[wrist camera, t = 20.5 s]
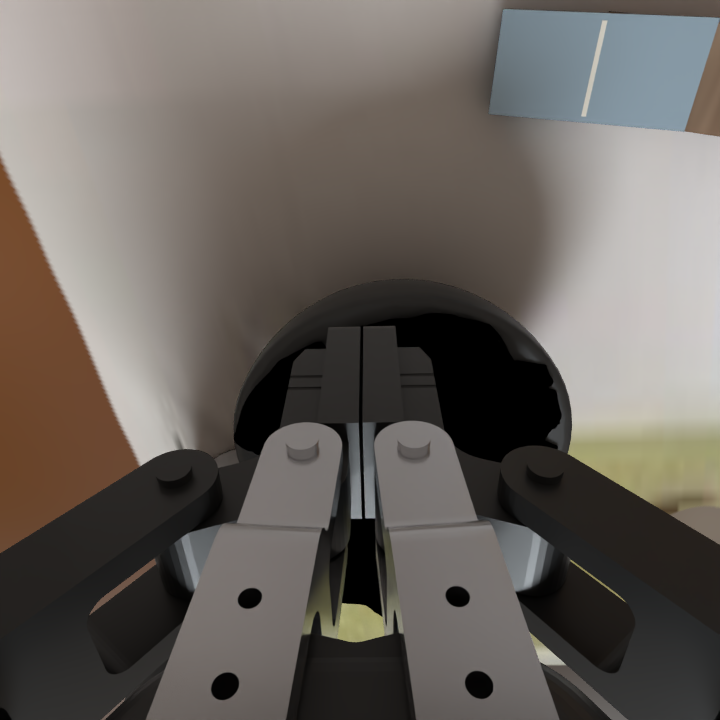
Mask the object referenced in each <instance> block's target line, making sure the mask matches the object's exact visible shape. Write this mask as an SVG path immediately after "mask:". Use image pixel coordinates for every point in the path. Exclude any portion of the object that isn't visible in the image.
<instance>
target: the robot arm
mask: <svg viewBox="0 0 720 720" xmlns="http://www.w3.org/2000/svg"><path fill="white" fill-rule="evenodd" d="M362 433H363V456H364V491H365V518H375V533H376V560H377V569H378V578H379V587H380V596H381V605H382V614H383V623H384V632H385V636H382V637H379V638H375V639H371V640H367V641H363V642H347V641H343V640H339V639H337V637H338V629H339V621H340V613H341V605H342V597H343V589H344V581H345V573H346V565H347V557H348V541H349V539H350V529H351V519H362ZM154 558H155V561H156V565H155V566H153V567H152V568H151V569H149V570H148V571H147V572H145V573H144V574H143V575H142V576H140V577H139V578H138V579H136V580H135V581H134V582H132V583H131V584H130V585H129V586H128V587H126V588H125V589H123V590H122V591H121V592H120V593H118V594H117V595H115V596H114V597H113V598H112V599H111V600H109V601H108V602H106V603H105V604H104V605H102V606H101V607H100V608H99V609H97V610H96V611H95V612H93V613H92V614H91V615H89V614H90V612H91V610H92V609H93V607H94V606H95V605H96V603H97V602H98V601H99V600H100V599H101V598H102V597H104V596H105V595H106V594H107V593H109V592H110V591H111V590H113V589H114V588H115V587H117V586H118V585H119V584H121V583H122V582H123V581H125V580H126V579H127V578H129V577H130V576H131V575H133V574H134V573H135V572H136V571H138V570H139V569H140V568H142V567H143V566H145V565H146V564H147V563H148V562H150V561H151V560H152V559H154ZM570 560H573V561H574V562H575V563H577V564H578V565H579V566H581V567H582V568H583V569H585V570H586V571H587V572H589V573H590V574H591V575H593V576H594V577H596V578H597V579H598V580H600V581H601V582H602V583H604V584H605V585H606V586H608V587H609V588H610V589H612V590H613V591H614V592H616V593H617V594H618V595H619V596H621V597H622V598H623V599H624V600H625V602H624V601H623V600H622V599H620V598H619V597H618V596H616V595H615V594H613V593H612V592H611V591H609V590H608V589H607V588H605V587H604V586H603V585H601V584H600V583H599V582H597V581H596V580H595V579H593V578H592V577H591V576H589V575H588V574H587V573H585V572H584V571H583V570H581V569H580V568H579V567H577V566H576V565H575V564H573V563H572V562H570ZM529 632H530V633H531V634H533V635H534V636H535V637H536V638H537V639H538V640H539V641H540V642H542V643H543V644H544V645H545V646H546V647H547V648H548V649H549V650H551V651H552V652H553V653H554V654H555V655H556V656H557V657H558V658H559V659H561V660H562V661H563V662H564V663H565V664H566V665H567V666H568V667H570V668H571V669H572V670H573V671H574V672H575V673H576V674H578V675H579V676H580V677H581V678H582V679H583V680H584V681H586V683H587V684H589V685H590V686H591V687H592V688H593V689H594V690H595V691H596V692H598V693H599V694H600V695H601V696H602V697H603V698H604V699H605V700H607V701H608V702H609V703H610V704H611V705H612V706H613V707H614V708H616V709H617V710H618V711H619V712H620V713H621V714H622V715H623V716H624V717H626V718H627V719H628V720H720V545H719V544H717V543H716V542H714V541H712V540H711V539H709V538H707V537H706V536H704V535H702V534H701V533H699V532H697V531H696V530H694V529H692V528H691V527H689V526H687V525H686V524H684V523H682V522H680V521H679V520H677V519H676V518H674V517H672V516H671V515H669V514H667V513H666V512H664V511H662V510H661V509H659V508H657V507H656V506H654V505H652V504H650V503H649V502H647V501H645V500H644V499H642V498H640V497H639V496H637V495H635V494H634V493H632V492H630V491H629V490H627V489H625V488H624V487H622V486H620V485H619V484H617V483H615V482H614V481H612V480H610V479H609V478H607V477H605V476H604V475H602V474H600V473H599V472H597V471H595V470H594V469H592V468H590V467H589V466H587V465H585V464H584V463H582V462H580V461H579V460H577V459H575V458H574V457H572V456H570V455H568V454H566V453H564V452H562V451H560V450H557V449H554V448H550V447H545V446H524V447H520V448H517V449H514V450H512V451H511V452H509V453H508V454H507V455H506V456H505V457H504V458H503V460H502V462H501V463H499V462H494V461H489V460H485V459H481V458H477V457H474V456H471V455H469V454H466V453H465V452H463V451H461V450H459V449H458V448H456V447H455V446H454V444H453V442H452V439H451V438H450V436H449V435H448V434H447V433H446V432H445V431H444V426H443V421H442V416H441V410H440V405H439V400H438V394H437V389H436V384H435V378H434V373H433V367H432V362H431V359H430V358H429V357H428V356H427V355H426V354H425V352H424V351H423V350H422V349H421V348H420V347H397V338H396V328H395V326H363V394H362V356H361V327H329V328H328V334H327V343H326V349H305V350H304V351H303V352H302V353H301V354H300V355H299V356H298V357H297V358H296V359H295V361H294V362H293V366H292V371H291V378H290V381H289V386H288V391H287V395H286V400H285V405H284V410H283V415H282V420H281V425H280V429H279V430H277V431H276V432H274V433H273V434H272V435H271V436H270V437H269V438H268V439H267V440H266V442H265V444H264V447H263V449H262V452H261V454H260V455H258V456H256V457H255V458H252V459H250V460H247V461H244V462H240V463H239V461H238V458H237V454H236V450H232V451H229V452H226V453H224V454H221V455H220V456H218V457H217V458H215V459H214V458H213V457H211V456H210V455H209V454H207V453H205V452H202V451H199V450H192V449H183V450H176V451H171V452H167V453H164V454H162V455H159V456H157V457H155V458H153V459H152V460H150V461H148V462H147V463H145V464H143V465H142V466H140V467H139V468H137V469H135V470H134V471H132V472H131V473H129V474H128V475H126V476H124V477H123V478H121V479H119V480H118V481H116V482H114V483H113V484H111V485H110V486H108V487H107V488H105V489H103V490H102V491H100V492H98V493H97V494H95V495H94V496H92V497H90V498H89V499H87V500H86V501H84V502H82V503H81V504H79V505H77V506H76V507H74V508H73V509H71V510H69V511H68V512H66V513H65V514H63V515H61V516H60V517H58V518H57V519H55V520H53V521H52V522H50V523H48V524H47V525H45V526H44V527H42V528H40V529H39V530H37V531H36V532H34V533H32V534H31V535H29V536H28V537H26V538H24V539H23V540H21V541H19V542H18V543H16V544H15V545H13V546H11V547H10V548H8V549H7V550H5V551H3V552H2V553H0V720H101V719H102V718H103V717H104V716H105V715H106V714H107V713H109V712H110V711H111V710H112V709H113V708H114V707H115V706H116V705H117V704H119V703H120V702H121V701H122V700H123V699H124V698H125V697H126V698H125V701H124V702H123V703H122V704H121V705H120V706H119V707H118V708H117V709H116V710H115V711H114V712H113V713H112V714H111V715H109V716H108V717H107V718H106V720H611V719H610V718H609V717H608V716H607V715H606V714H605V713H604V712H603V711H602V710H601V709H600V708H598V707H597V705H595V704H594V703H593V702H592V701H591V700H590V699H589V698H588V697H587V696H586V695H585V694H584V693H583V692H582V691H580V690H579V689H578V688H577V687H576V686H575V685H573V684H572V683H571V682H570V681H568V680H567V679H565V678H564V677H563V676H562V675H560V674H559V673H557V672H555V671H554V670H552V669H551V668H549V667H548V666H546V665H544V664H542V663H540V662H539V659H538V656H537V653H536V650H535V647H534V644H533V641H532V638H531V635H530V633H529Z"/></svg>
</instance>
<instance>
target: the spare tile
mask: <svg viewBox="0 0 720 720" xmlns="http://www.w3.org/2000/svg"><path fill="white" fill-rule="evenodd" d="M719 20H720V18H716V17H695V16H670V15H645V14H620V13H595V12H570V11H545V10H521V9H503V14H502V21H501V29H500V36H499V43H498V50H497V57H496V64H495V71H494V78H493V85H492V92H491V100H490V107H489V114H492V115H504V116H515V117H526V118H537V119H549V120H560V121H571V122H582V123H593V124H605V125H616V126H627V127H638V128H650V129H661V130H672V131H683V132H684V131H685V128H686V125H687V121H688V118H689V115H690V112H691V109H692V106H693V102H694V99H695V96H696V93H697V90H698V87H699V83H700V80H701V77H702V74H703V71H704V68H705V64H706V61H707V58H708V55H709V52H710V49H711V45H712V42H713V39H714V36H715V33H716V30H717V26H718V23H719Z"/></svg>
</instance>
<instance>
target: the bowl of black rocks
mask: <svg viewBox="0 0 720 720" xmlns="http://www.w3.org/2000/svg"><path fill="white" fill-rule="evenodd" d="M363 326H395V328H396V338H397V347H420V348H421V349H422V350H423V351H424V352H425V354H426V355H427V356H428V357H429V358H430V359H431V362H432V367H433V373H434V378H435V384H436V389H437V394H438V400H439V405H440V410H441V416H442V421H443V426H444V431H445V432H446V433H447V434H448V435H449V436H450V438H451V439H452V442H453V444H454V446H455V447H456V448H458V449H459V450H461V451H463V452H465V453H466V454H469V455H471V456H474V457H477V458H481V459H485V460H489V461H494V462H499V463H501V462H502V460H503V458H504V457H505V456H506V455H507V454H508V453H509V452H511V451H512V450H514V449H517V448H520V447H524V446H545V447H550V448H554V449H557V450H560V451H562V452H564V453H566V454H567V453H568V450H569V445H570V441H571V431H572V417H571V406H570V400H569V396H568V393H567V389H566V386H565V383H564V381H563V379H562V377H561V375H560V373H559V371H558V369H557V367H556V366H555V364H554V363H553V361H552V359H551V358H550V356H549V355H548V353H547V352H546V351H545V350H544V348H543V347H542V346H541V345H540V343H539V342H538V341H537V340H536V339H535V338H534V337H533V336H532V334H531V333H529V332H528V331H527V330H526V329H525V328H524V327H523V326H522V325H521V324H520V323H519V322H518V321H516V320H515V319H514V318H513V317H511V316H510V315H509V314H507V313H506V312H505V311H503V310H502V309H500V308H498V307H497V306H495V305H494V304H492V303H490V302H489V301H487V300H485V299H483V298H480V297H478V296H476V295H474V294H472V293H470V292H467V291H464V290H461V289H459V288H456V287H453V286H449V285H445V284H441V283H436V282H430V281H424V280H409V279H403V280H385V281H376V282H371V283H366V284H361V285H357V286H354V287H351V288H347V289H344V290H342V291H339V292H337V293H334V294H332V295H330V296H328V297H326V298H324V299H322V300H320V301H318V302H317V303H315V304H313V305H312V306H310V307H309V308H307V309H306V310H304V311H303V312H301V313H300V314H298V315H297V316H296V317H295V318H293V319H292V320H291V321H290V322H288V323H287V324H286V325H285V326H284V327H283V328H282V329H281V330H280V331H279V332H278V333H277V334H276V335H275V336H274V337H273V338H272V339H271V341H270V342H269V343H268V344H267V346H266V347H265V348H264V349H263V351H262V352H261V354H260V355H259V357H258V358H257V360H256V361H255V363H254V364H253V366H252V368H251V370H250V371H249V373H248V375H247V378H246V380H245V382H244V384H243V386H242V388H241V391H240V394H239V397H238V400H237V404H236V409H235V414H234V442H235V448H236V454H237V458H238V461H239V463H240V462H244V461H247V460H250V459H252V458H255V457H256V456H258V455H260V454H261V452H262V449H263V447H264V444H265V442H266V440H267V439H268V438H269V437H270V436H271V435H272V434H273V433H274V432H276V431H277V430H279V429H280V425H281V420H282V415H283V410H284V405H285V400H286V395H287V391H288V386H289V381H290V378H291V371H292V366H293V362H294V361H295V359H296V358H297V357H298V356H299V355H300V354H301V353H302V352H303V351H304V350H305V349H326V343H327V334H328V328H329V327H361V356H362V394H363ZM342 603H347V604H361V605H366V606H368V607H369V608H371V609H372V610H373V611H374V612H375V613H378V614H379V615H380V616H382V617H383V614H382V605H381V596H380V587H379V578H378V569H377V560H376V533H375V518H365V491H364V456H363V433H362V519H351V529H350V539H349V541H348V557H347V565H346V573H345V581H344V589H343V597H342Z"/></svg>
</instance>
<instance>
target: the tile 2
mask: <svg viewBox="0 0 720 720" xmlns="http://www.w3.org/2000/svg"><path fill="white" fill-rule="evenodd" d="M608 13H620V14H630V13H621V12H611V11H609V12H608ZM685 131H686V132H693V133H700V134H706V135H713V136H720V23H718V26H717V30H716V33H715V36H714V39H713V42H712V45H711V49H710V52H709V55H708V58H707V61H706V64H705V68H704V71H703V74H702V77H701V80H700V83H699V87H698V90H697V93H696V96H695V99H694V102H693V106H692V109H691V112H690V115H689V118H688V121H687V125H686V128H685Z"/></svg>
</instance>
